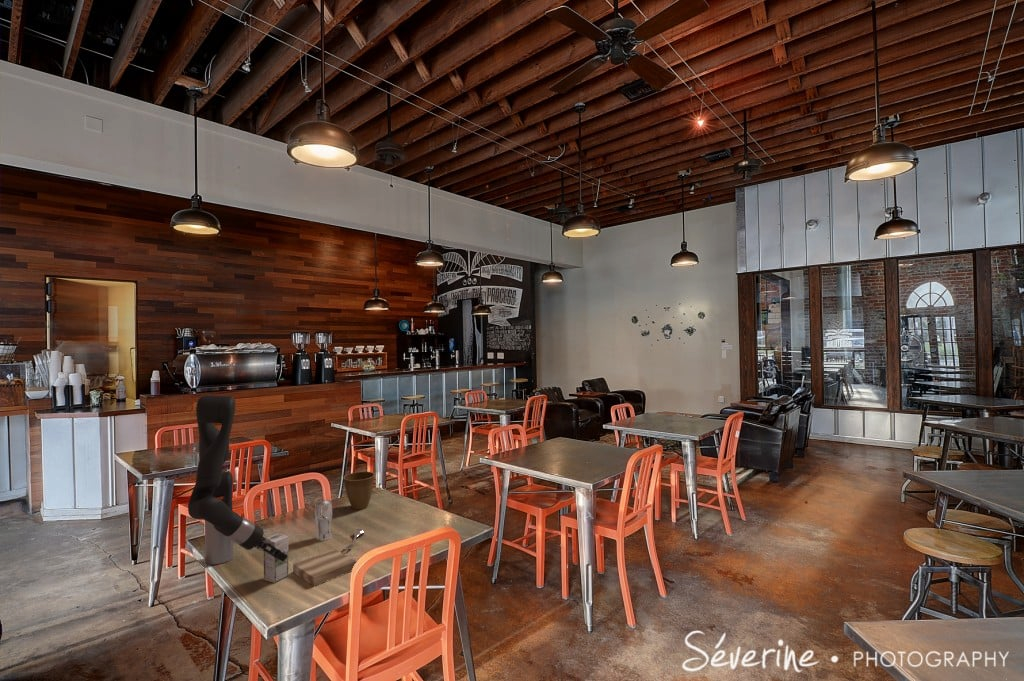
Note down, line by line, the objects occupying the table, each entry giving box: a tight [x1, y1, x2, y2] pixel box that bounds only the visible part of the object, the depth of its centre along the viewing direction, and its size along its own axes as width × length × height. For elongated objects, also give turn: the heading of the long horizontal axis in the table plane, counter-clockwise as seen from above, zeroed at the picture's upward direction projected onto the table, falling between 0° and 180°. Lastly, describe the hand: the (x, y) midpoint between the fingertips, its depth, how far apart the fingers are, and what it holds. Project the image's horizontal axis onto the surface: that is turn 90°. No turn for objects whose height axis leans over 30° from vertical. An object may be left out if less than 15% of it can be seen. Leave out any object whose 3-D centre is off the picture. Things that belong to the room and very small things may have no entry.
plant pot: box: [343, 471, 375, 511], centre depth 242 cm, size 15×15×16 cm
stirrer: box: [342, 528, 366, 550], centre depth 200 cm, size 20×4×5 cm
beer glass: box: [314, 499, 333, 542], centre depth 205 cm, size 7×7×15 cm
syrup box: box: [263, 533, 289, 584], centre depth 170 cm, size 6×6×14 cm
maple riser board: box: [292, 548, 358, 587], centre depth 176 cm, size 16×16×3 cm
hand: (280, 555), depth 172 cm, fingers closed on syrup box, 6 cm apart
